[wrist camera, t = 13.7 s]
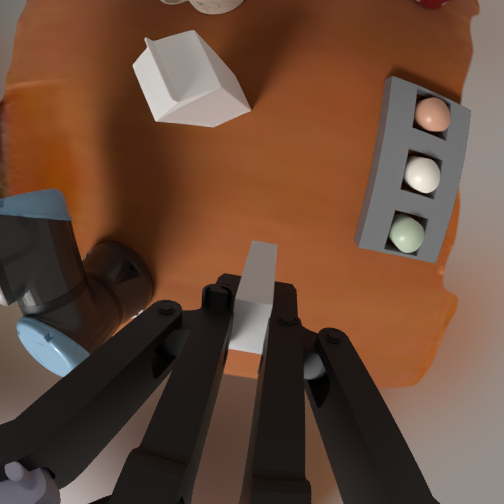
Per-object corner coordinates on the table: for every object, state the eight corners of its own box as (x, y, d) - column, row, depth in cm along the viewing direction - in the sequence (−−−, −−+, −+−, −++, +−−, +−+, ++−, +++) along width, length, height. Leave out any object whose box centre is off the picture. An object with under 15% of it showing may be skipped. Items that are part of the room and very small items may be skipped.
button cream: (424, 191, 36) (435, 196, 32) (397, 183, 36) (408, 188, 33) (430, 161, 34) (443, 164, 30) (404, 152, 34) (415, 154, 31)
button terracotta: (435, 135, 32) (448, 136, 29) (408, 125, 33) (420, 124, 29) (438, 106, 31) (452, 105, 27) (412, 95, 31) (424, 92, 27)
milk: (235, 75, 34) (182, 13, 13) (252, 111, 35) (213, 78, 15) (196, 93, 35) (111, 57, 15) (212, 128, 37) (136, 121, 17)
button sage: (408, 245, 40) (418, 255, 36) (382, 239, 40) (391, 249, 36) (417, 216, 38) (428, 224, 34) (391, 210, 38) (400, 217, 34)
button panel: (427, 255, 40) (435, 263, 37) (353, 240, 41) (358, 247, 38) (460, 111, 30) (470, 110, 27) (385, 79, 31) (392, 75, 28)
